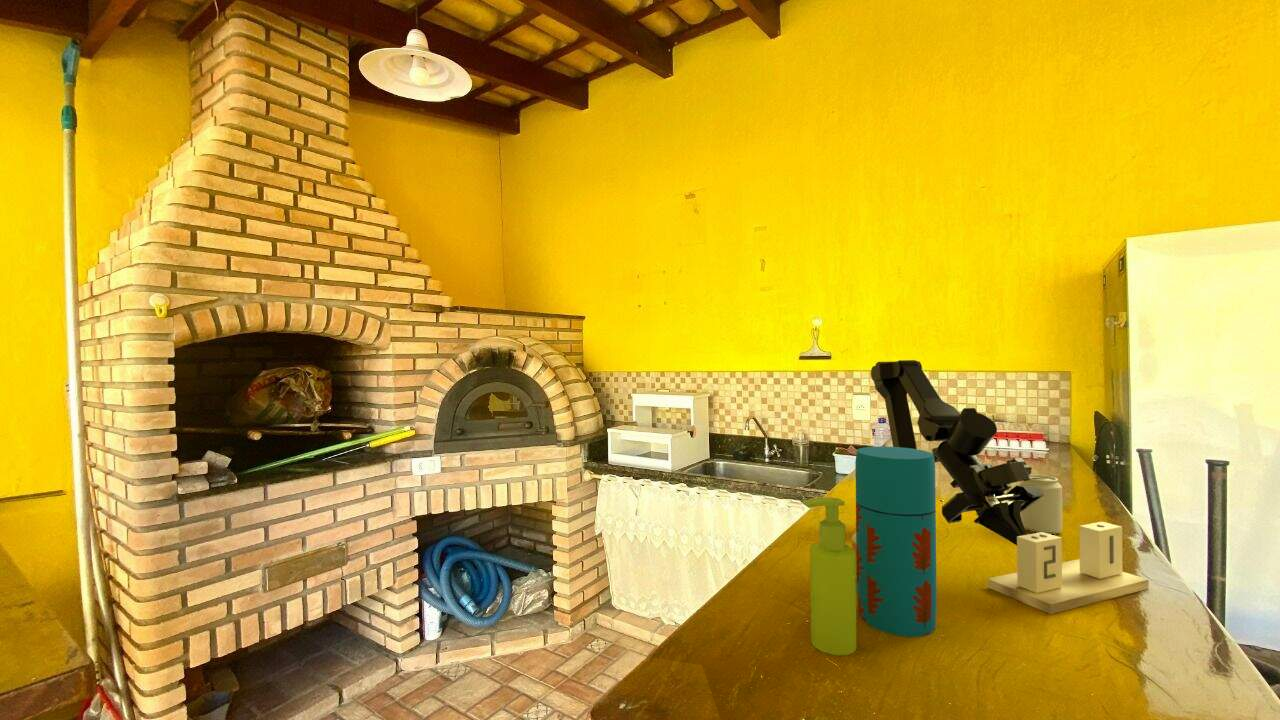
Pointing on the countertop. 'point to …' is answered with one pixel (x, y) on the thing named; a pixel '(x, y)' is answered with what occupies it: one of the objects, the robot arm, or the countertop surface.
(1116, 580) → the beige wooden board
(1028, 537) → the cream numbered block 2
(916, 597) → the thermos
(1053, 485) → the can
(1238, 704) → the countertop surface
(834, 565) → the soap dispenser
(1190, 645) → the countertop surface
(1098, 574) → the cream numbered block 1
